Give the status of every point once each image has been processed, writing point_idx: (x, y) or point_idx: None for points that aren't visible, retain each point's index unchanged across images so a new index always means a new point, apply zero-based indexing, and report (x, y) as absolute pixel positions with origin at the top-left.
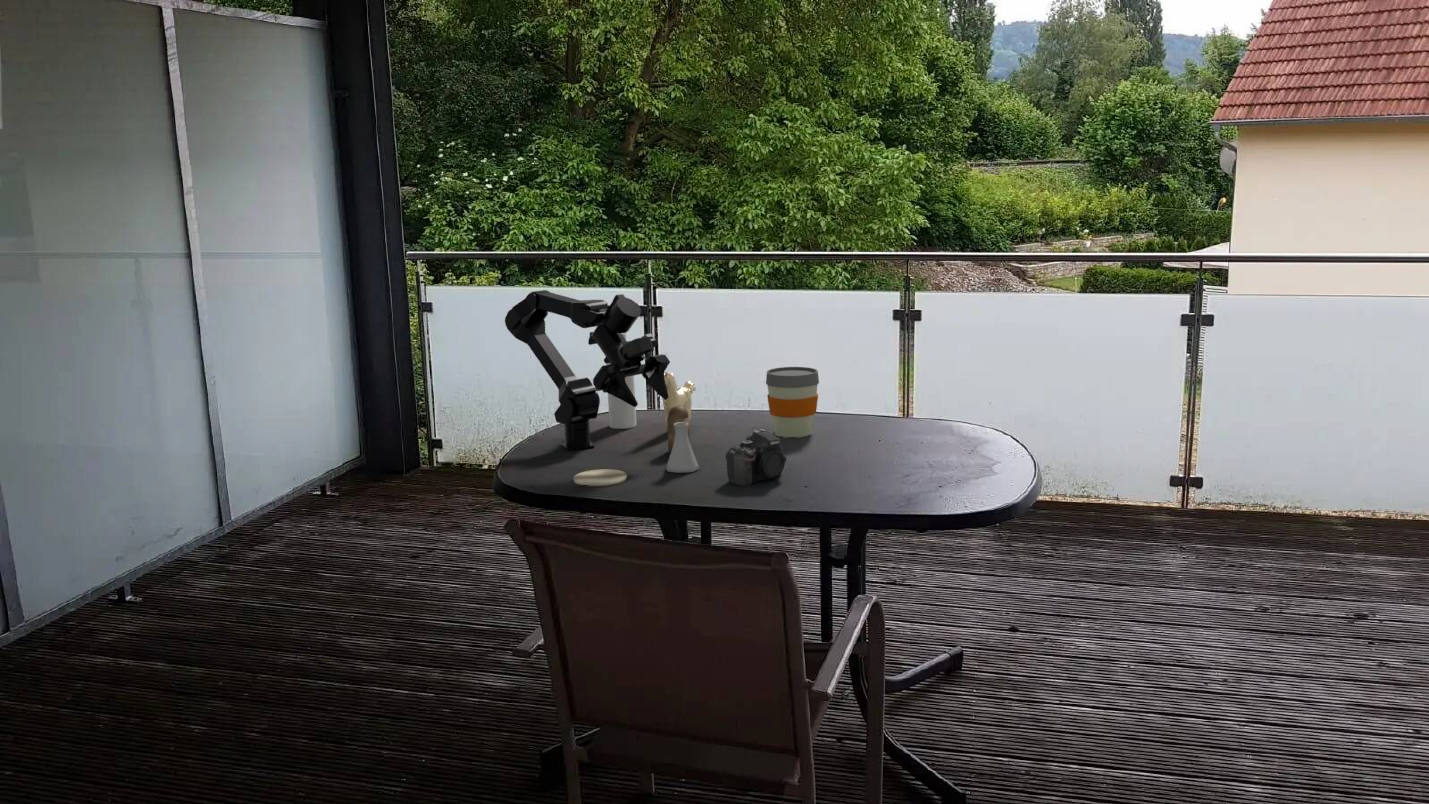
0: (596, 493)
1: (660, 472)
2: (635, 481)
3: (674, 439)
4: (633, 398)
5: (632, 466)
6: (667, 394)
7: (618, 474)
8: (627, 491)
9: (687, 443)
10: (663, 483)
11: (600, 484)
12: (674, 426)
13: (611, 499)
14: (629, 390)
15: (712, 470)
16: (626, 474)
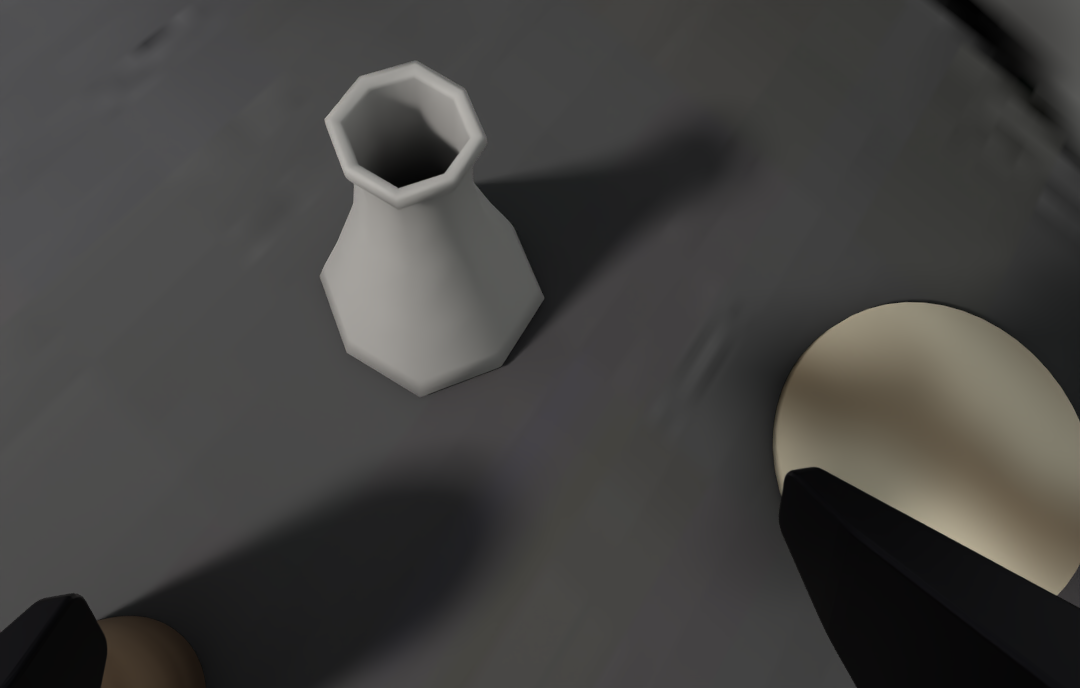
0: (1047, 239)
1: (574, 330)
2: (785, 278)
3: (145, 683)
4: (888, 521)
5: (627, 581)
6: (21, 627)
7: (831, 412)
8: (904, 161)
9: (411, 159)
10: (687, 146)
11: (991, 327)
12: (485, 145)
13: (1022, 111)
14: (1029, 644)
15: (325, 154)
16: (793, 377)
